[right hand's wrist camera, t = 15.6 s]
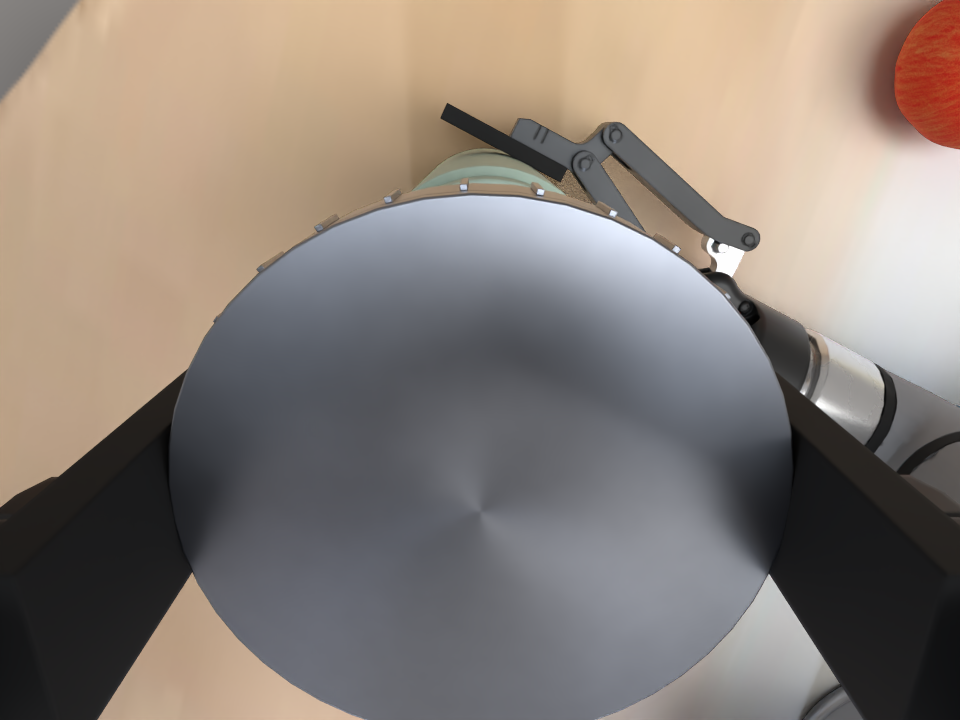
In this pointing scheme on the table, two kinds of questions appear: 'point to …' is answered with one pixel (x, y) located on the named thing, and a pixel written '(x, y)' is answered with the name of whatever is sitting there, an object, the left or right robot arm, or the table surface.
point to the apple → (932, 75)
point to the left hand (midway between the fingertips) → (405, 199)
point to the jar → (485, 171)
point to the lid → (480, 460)
